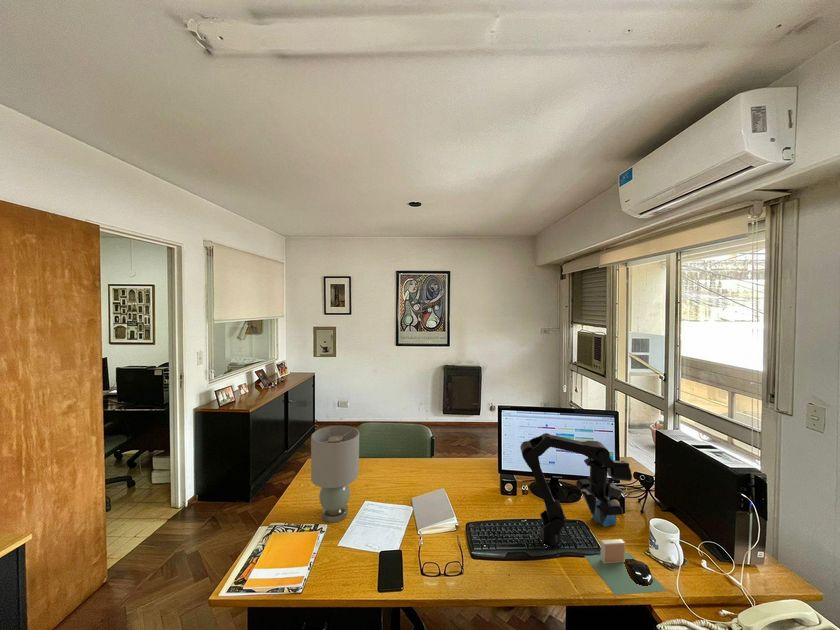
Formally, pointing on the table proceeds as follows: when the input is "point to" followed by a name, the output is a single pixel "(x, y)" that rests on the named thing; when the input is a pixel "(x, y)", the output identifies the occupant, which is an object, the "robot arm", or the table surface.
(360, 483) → the table surface
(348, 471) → the lamp
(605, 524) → the blue bottle
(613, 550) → the block
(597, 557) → the mat
